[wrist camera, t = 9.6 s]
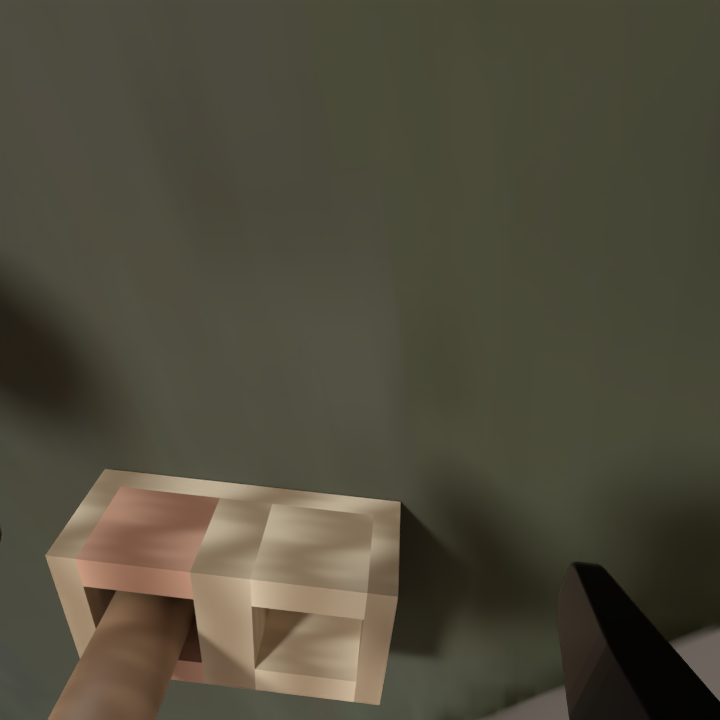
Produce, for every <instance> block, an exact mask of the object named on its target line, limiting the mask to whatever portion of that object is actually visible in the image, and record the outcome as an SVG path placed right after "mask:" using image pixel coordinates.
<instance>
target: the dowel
mask: <svg viewBox="0 0 720 720" xmlns="http://www.w3.org/2000/svg"><path fill="white" fill-rule="evenodd" d="M194 616H195V607H194V600H193V599H185V598H177V597H169V596H160V595H152V594H143V593H135V592H127V591H118V590H117V591H116V592H115V594H114V596H113V598H112V600H111V602H110V604H109V606H108V607H107V609H106V611H105V613H104V615H103V617H102V619H101V621H100V622H99V624H98V626H97V628H96V630H95V632H94V634H93V636H92V638H91V639H90V641H89V643H88V645H87V647H86V649H85V651H84V653H83V654H82V656H81V658H80V660H79V662H78V664H77V666H76V668H75V669H74V671H73V673H72V675H71V677H70V679H69V681H68V683H67V684H66V686H65V688H64V690H63V692H62V694H61V696H60V698H59V699H58V701H57V703H56V705H55V707H54V709H53V711H52V713H51V714H50V716H49V718H48V720H156V717H157V714H158V712H159V709H160V706H161V704H162V701H163V698H164V696H165V693H166V690H167V688H168V685H169V682H170V680H171V677H172V675H173V672H174V669H175V667H176V664H177V661H178V659H179V656H180V653H181V651H182V648H183V645H184V643H185V640H186V637H187V635H188V632H189V629H190V627H191V624H192V621H193V619H194Z"/></svg>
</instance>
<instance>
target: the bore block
mask: <svg viewBox="0 0 720 720" xmlns="http://www.w3.org/2000/svg"><path fill="white" fill-rule="evenodd" d="M400 505H401V502H397V501H388V500H379V499H370V498H361V497H352V496H343V495H334V494H325V493H316V492H307V491H298V490H290V489H281V488H272V487H263V486H254V485H245V484H236V483H227V482H218V481H209V480H200V479H191V478H182V477H173V476H164V475H155V474H147V473H138V472H129V471H120V470H111V469H105V470H104V471H103V472H102V474H101V475H100V477H99V478H98V480H97V481H96V483H95V484H94V486H93V487H92V488H91V490H90V491H89V493H88V494H87V496H86V497H85V499H84V500H83V502H82V503H81V504H80V506H79V507H78V509H77V510H76V512H75V513H74V515H73V516H72V517H71V519H70V520H69V522H68V523H67V525H66V526H65V528H64V529H63V531H62V532H61V533H60V535H59V536H58V538H57V539H56V541H55V542H54V544H53V545H52V547H51V548H50V549H49V551H48V552H47V554H46V555H45V556H46V559H47V562H48V565H49V568H50V571H51V574H52V577H53V580H54V583H55V586H56V589H57V591H58V594H59V597H60V600H61V603H62V606H63V609H64V612H65V615H66V618H67V621H68V624H69V627H70V630H71V633H72V636H73V639H74V642H75V645H76V648H77V651H78V654H79V657H80V658H81V656H82V654H83V653H84V651H85V649H86V647H87V645H88V643H89V641H90V639H91V638H92V636H93V634H94V632H95V630H96V628H97V626H98V624H99V622H100V621H101V619H102V617H103V615H104V613H105V611H106V609H107V607H108V606H109V604H110V602H111V600H112V598H113V596H114V594H115V592H116V591H117V590H118V591H127V592H135V593H143V594H152V595H160V596H169V597H177V598H185V599H193V600H194V607H195V616H194V619H193V621H192V624H191V627H190V629H189V632H188V635H187V637H186V640H185V643H184V645H183V648H182V651H181V653H180V656H179V659H178V661H177V664H176V667H175V669H174V672H173V675H172V677H171V679H173V680H181V681H189V682H197V683H205V684H213V685H221V686H229V687H237V688H245V689H254V690H262V691H270V692H278V693H286V694H294V695H302V696H310V697H318V698H326V699H335V700H343V701H351V702H359V703H367V704H375V705H380V699H381V694H382V688H383V682H384V676H385V670H386V665H387V659H388V653H389V647H390V641H391V636H392V630H393V624H394V618H395V612H396V607H397V601H398V585H399V545H400Z"/></svg>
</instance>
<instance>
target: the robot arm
mask: <svg viewBox="0 0 720 720" xmlns="http://www.w3.org/2000/svg"><path fill="white" fill-rule="evenodd" d="M1 536H2V531H1V527H0V541H1ZM556 610H557V620H558V628H559V637H560V646H561V655H562V663H563V672H564V681H565V690H566V698H567V705H568V713H569V719H570V720H720V701H719V700H718V699H717V698H716V697H715V696H714V695H713V693H711V691H710V690H709V689H708V688H707V686H706V685H705V684H704V683H703V682H702V681H701V679H700V678H699V677H698V676H697V675H696V674H695V673H694V672H693V670H692V669H691V668H690V667H689V666H688V664H687V663H686V662H685V661H684V660H683V659H682V657H681V656H680V655H679V654H678V653H677V652H676V651H675V649H674V648H673V647H672V646H671V645H670V644H669V642H668V641H667V640H666V639H665V638H664V637H663V635H662V634H661V633H660V632H659V631H658V630H657V629H656V627H655V626H654V625H653V624H652V623H651V622H650V620H649V619H648V618H647V617H646V616H645V615H644V613H643V612H642V611H641V610H640V609H639V608H638V607H637V605H636V604H635V603H634V602H633V601H632V600H631V598H630V597H629V596H628V595H627V594H626V593H625V591H624V590H623V589H622V588H621V587H620V586H619V585H618V583H617V582H616V581H615V580H614V579H613V578H612V576H611V575H610V574H609V573H608V572H607V571H606V570H605V569H604V568H603V567H602V566H600V565H598V564H594V563H585V562H573V563H572V564H571V565H570V566H569V568H568V571H567V573H566V576H565V578H564V581H563V583H562V585H561V588H560V590H559V593H558V596H557V603H556Z"/></svg>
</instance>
